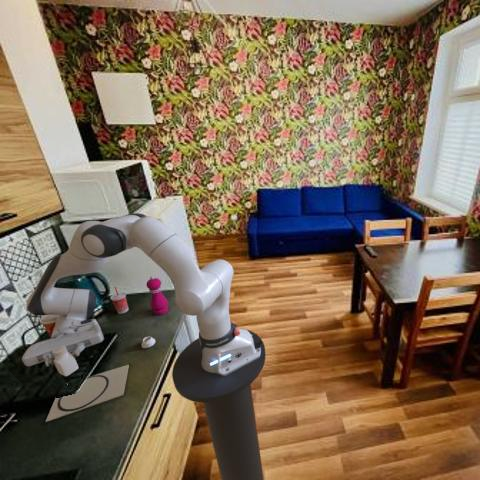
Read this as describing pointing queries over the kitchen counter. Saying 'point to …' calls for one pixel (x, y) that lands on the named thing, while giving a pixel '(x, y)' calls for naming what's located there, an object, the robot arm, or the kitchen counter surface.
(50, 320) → the paper cup
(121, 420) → the kitchen counter surface
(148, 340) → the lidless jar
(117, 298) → the beverage cup
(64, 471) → the kitchen counter surface
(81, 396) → the drawing sheet
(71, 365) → the pepper shaker
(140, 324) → the kitchen counter surface
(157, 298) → the pepper mill
